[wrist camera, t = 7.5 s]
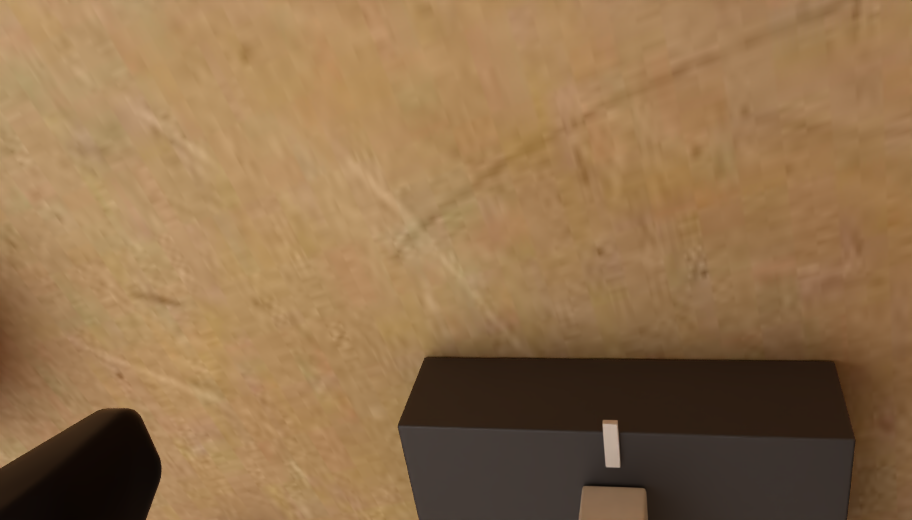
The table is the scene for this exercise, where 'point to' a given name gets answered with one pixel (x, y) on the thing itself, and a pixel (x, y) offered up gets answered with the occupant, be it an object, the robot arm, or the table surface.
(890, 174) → the table surface
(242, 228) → the table surface
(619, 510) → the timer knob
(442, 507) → the panel
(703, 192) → the table surface
